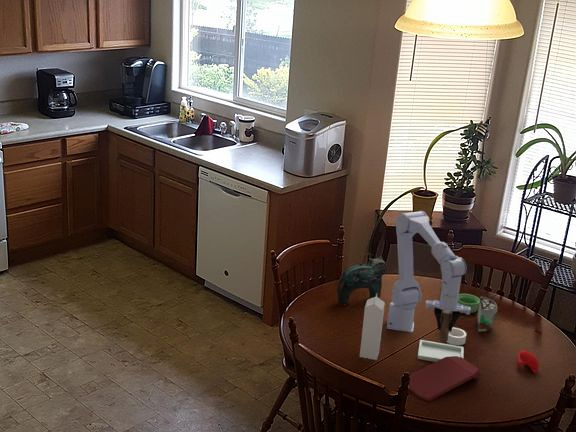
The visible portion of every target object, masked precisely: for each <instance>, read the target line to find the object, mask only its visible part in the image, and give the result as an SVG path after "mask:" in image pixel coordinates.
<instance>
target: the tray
mask: <svg viewBox="0 0 576 432" xmlns="http://www.w3.org/2000/svg"><path fill="white" fill-rule="evenodd" d="M464 350H465V349H464V346H461V345H452V344H449V343H442V342H436V341H429V340H426V339H425V340H424V339H419V346H418V350H417V351H418V352H417V360H422V361H428V362H432V363H434V362H436V361H438V360H440V359H442V358H444V357H451V356H458V357H462V358H463V359H464Z"/></svg>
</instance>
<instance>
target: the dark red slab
mask: <svg viewBox="0 0 576 432" xmlns="http://www.w3.org/2000/svg"><path fill="white" fill-rule="evenodd" d="M479 373H480V368H479V367H477V366H476V365H474V364H473V363H471V362H469V361H468V360H466V359H465V358H464V357H463V358H462V357H458V356H451V357H444V358H442V359H440V360H438V361H436V362H432V363H430V364H429V365H426V366H424V367H422V368H421V369H418V370H417V371H415V372H412V373H410V374H409V375H410V384H409V389H408V391H410V392H411V393H413V394H414V395H415V396H416V397H418V398H419V399H421V400H425V401H428V402H430V401H432V400H435V399H437V398H439V397H440V396H442V395H444V394H446V393H448V392H449V391H452V390H453V389H455V388H457V387H459V386H461V385H462V384H464V383H467V382H468V381H470V380H472V379H473V380H477V379H479V376H480V374H479Z"/></svg>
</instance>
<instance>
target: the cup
mask: <svg viewBox="0 0 576 432" xmlns="http://www.w3.org/2000/svg"><path fill="white" fill-rule="evenodd" d="M466 339H467V332H466V331H465V330H464V329H461V328H459V327H453V328H452V330H451V332H449V335H448V341H446V344H448V345H454V346H463V345H464V344H466Z"/></svg>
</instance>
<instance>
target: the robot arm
mask: <svg viewBox="0 0 576 432" xmlns="http://www.w3.org/2000/svg"><path fill="white" fill-rule="evenodd" d="M395 231H396V237H397V239H396V240H397V241H396V242H397V265H398V280H397V281H396V282H395V283H393V285H392V291H391V295H390V296H391V297H390V298H391V301H392V302H390V303H389V307H388V314H387V317H386V322H387V323H386V329H387V330H388V329H389V330H394V331H403V332H408V333H413V332H414V326H415V321H414V318H415V309H416V306H418V303H420V302H421V301H422V291H421V289H420V283H419V282H418V281H417V280H415V277H414V276H415V275H414V274H415V273H414V253H413V252H414V250H413V249H414V248H413V247H414V246H413V244H414V243H413V237H414V236H415V235H416V234H419V235H420V236H421V237H422V238H423V239H424V240H425V242H427V244H428V245H429V246H430V248H431V255H432V256H433V257H434V258H435V259H436V262H438V264H439V265H440V272H441V280H442V285H441V291H440V298H439V300H426V301H425V307H424V308H425V309H429V308H431V309H433V314H434V316H435V319H436V323H437V330H438V331H439V330H440V323H441V316H442V312H443V311H445V312H451V313H452V315H451V322H450V328H449V332H451V330H452V328H454V326H455V324H456V322H457V321H458V320H459V319H460V317H461V313H462V314H465V315H470V314H471V313H470V307H466V306H463V305H460V304H457V302H458V295H459V294H460V289H461V288H460V287H461V282H462V276H464V275H465V274H466V273H467V270H468V269H467V264H466V261H465V259H464V258H462V257H459V256H458V255H455V253H454V252H453V251H452V249H451V248H450V246H448V244H447V243H446V242H444V241H441V240H440V238H439V237H438V236H437V234H436V233H435V231H434V229H433V228H432V226H431V225H430V217H429V216H428V214H427V213H426V212H425V211H424V210H419V211H414V212H413V211H412V212H402V213H399V214H398V216H397V217H396V218H395Z"/></svg>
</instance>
